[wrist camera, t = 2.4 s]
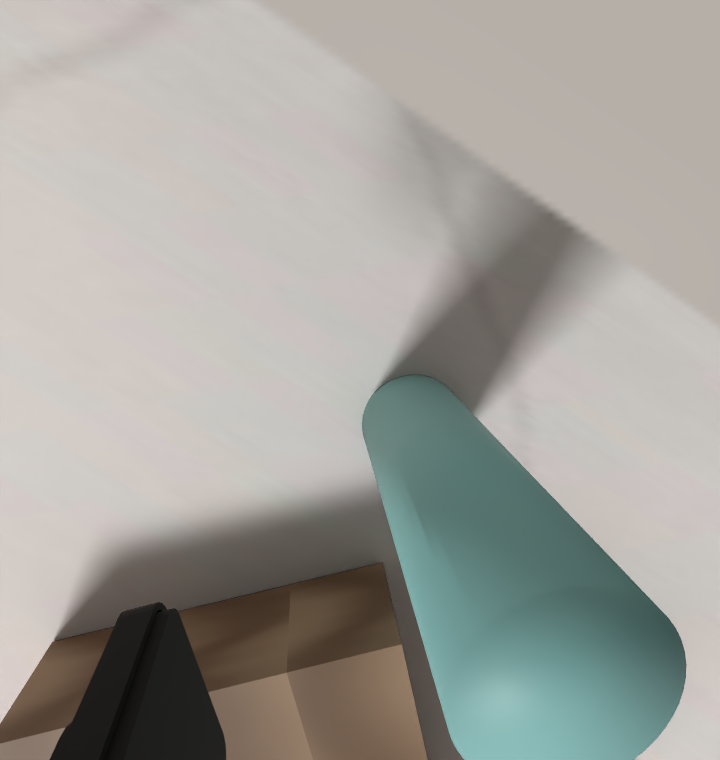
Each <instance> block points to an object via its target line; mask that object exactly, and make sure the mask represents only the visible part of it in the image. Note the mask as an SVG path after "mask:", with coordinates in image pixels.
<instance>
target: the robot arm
mask: <svg viewBox="0 0 720 760" xmlns="http://www.w3.org/2000/svg"><path fill="white" fill-rule="evenodd" d="M50 760H226V743H225V738H224V734H223V731H222V728H221V725H220V723H219V720H218V717H217V715H216V712H215V709H214V707H213V704H212V701H211V698H210V696H209V693H208V690H207V688H206V685H205V682H204V679H203V677H202V674H201V671H200V669H199V666H198V663H197V661H196V658H195V655H194V652H193V650H192V647H191V644H190V642H189V639H188V636H187V634H186V631H185V628H184V625H183V623H182V620H181V617H180V615H179V613H178V611H177V610H176V609H174V608H173V609H169V610H167V609H166V607H165V606H164V605H163V603H160V602H158V603H154V604H150V605H146V606H142V607H139V608H135V609H131V610H127V611H124V612H122V613H121V614H120V616H119V618H118V620H117V622H116V624H115V626H114V629H113V631H112V633H111V635H110V638H109V640H108V642H107V644H106V647H105V649H104V651H103V653H102V656H101V658H100V660H99V662H98V665H97V667H96V669H95V671H94V674H93V676H92V678H91V680H90V683H89V685H88V687H87V689H86V692H85V694H84V696H83V698H82V701H81V703H80V705H79V707H78V710H77V712H76V714H75V716H74V719H73V721H72V722H71V723H70V724H69V725H68V726H66V728H65V729H64V731H63V733H62V735H61V736H60V738H59V740H58V742H57V744H56V747H55V749H54V751H53V753H52V755H51V758H50Z"/></svg>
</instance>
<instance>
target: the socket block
mask: <svg viewBox="0 0 720 760" xmlns="http://www.w3.org/2000/svg"><path fill="white" fill-rule="evenodd" d="M178 613H179V615H180V617H181V620H182V623H183V625H184V628H185V631H186V634H187V636H188V639H189V642H190V644H191V647H192V650H193V652H194V655H195V658H196V661H197V663H198V666H199V669H200V671H201V674H202V677H203V679H204V682H205V685H206V688H207V690H208V693H209V696H210V698H211V701H212V704H213V707H214V709H215V712H216V715H217V717H218V720H219V723H220V725H221V728H222V731H223V734H224V738H225V743H226V760H428V759H427V755H426V750H425V746H424V741H423V737H422V733H421V728H420V724H419V719H418V715H417V710H416V706H415V701H414V697H413V692H412V688H411V683H410V679H409V674H408V670H407V665H406V661H405V656H404V652H403V647H402V643H401V639H400V634H399V630H398V626H397V622H396V617H395V613H394V609H393V605H392V600H391V596H390V592H389V588H388V583H387V579H386V575H385V571H384V566H383V563H378V564H374V565H370V566H366V567H362V568H358V569H353V570H349V571H345V572H341V573H337V574H333V575H328V576H324V577H320V578H316V579H312V580H308V581H304V582H299V583H295V584H291V585H287V586H283V587H279V588H274V589H270V590H266V591H262V592H258V593H254V594H249V595H245V596H241V597H237V598H233V599H229V600H224V601H220V602H216V603H212V604H208V605H204V606H200V607H195V608H191V609H187V610H183V611H179V612H178ZM113 629H114V627H112V628H108V629H104V630H100V631H96V632H91V633H87V634H83V635H79V636H75V637H71V638H66V639H62V640H58V641H54V642H52V644H51V645H50V647H49V648H48V650H47V651H46V653H45V655H44V656H43V658H42V659H41V661H40V662H39V664H38V666H37V667H36V669H35V670H34V672H33V673H32V675H31V677H30V678H29V680H28V681H27V683H26V684H25V686H24V688H23V689H22V691H21V692H20V694H19V695H18V697H17V699H16V700H15V702H14V703H13V705H12V706H11V708H10V710H9V711H8V713H7V714H6V716H5V717H4V719H3V721H2V722H1V724H0V760H50V758H51V755H52V753H53V751H54V749H55V747H56V744H57V742H58V740H59V738H60V736H61V735H62V733H63V731H64V729H65V728H66V726H68V725H69V724H70V723H71V722H72V721H73V719H74V716H75V714H76V712H77V710H78V707H79V705H80V703H81V701H82V698H83V696H84V694H85V692H86V689H87V687H88V685H89V683H90V680H91V678H92V676H93V674H94V671H95V669H96V667H97V665H98V662H99V660H100V658H101V656H102V653H103V651H104V649H105V647H106V644H107V642H108V640H109V638H110V635H111V633H112V631H113Z"/></svg>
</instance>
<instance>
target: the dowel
mask: <svg viewBox="0 0 720 760" xmlns="http://www.w3.org/2000/svg"><path fill="white" fill-rule="evenodd" d="M362 431H363V436H364V440H365V443H366V446H367V450H368V453H369V457H370V460H371V464H372V467H373V471H374V474H375V478H376V481H377V485H378V488H379V492H380V495H381V498H382V502H383V505H384V509H385V512H386V516H387V519H388V523H389V526H390V530H391V533H392V537H393V540H394V544H395V547H396V551H397V554H398V557H399V561H400V564H401V568H402V571H403V575H404V578H405V582H406V585H407V589H408V592H409V596H410V599H411V603H412V606H413V609H414V613H415V616H416V620H417V623H418V627H419V630H420V634H421V637H422V641H423V644H424V648H425V651H426V655H427V658H428V662H429V665H430V668H431V672H432V675H433V679H434V682H435V686H436V689H437V693H438V696H439V700H440V703H441V707H442V710H443V714H444V717H445V720H446V724H447V727H448V731H449V734H450V737H451V740H452V742H453V744H454V746H455V748H456V749H457V751H458V752H459V753H460V755H461V756H462V758H463V759H464V760H633V759H635V758H636V757H637V756H638V755H640V754H641V753H642V752H643V751H645V750H646V749H647V748H648V747H649V746H650V745H651V744H652V743H653V742H654V741H655V740H656V739H657V737H658V736H659V735H660V734H661V732H662V731H663V730H664V729H665V727H666V726H667V724H668V723H669V721H670V720H671V718H672V716H673V715H674V712H675V710H676V708H677V706H678V704H679V702H680V699H681V696H682V693H683V689H684V684H685V679H686V658H685V651H684V647H683V644H682V641H681V638H680V636H679V634H678V632H677V630H676V628H675V627H674V625H673V624H672V623H671V621H670V620H669V618H668V617H667V616H666V615H665V614H664V613H663V612H662V611H661V610H660V609H659V608H658V607H657V606H656V605H655V604H654V603H653V601H652V600H651V599H650V598H649V597H648V596H647V595H646V594H645V593H644V592H643V591H642V590H641V589H640V588H639V587H638V586H637V585H636V584H635V583H634V582H633V581H632V580H631V579H630V578H629V576H628V575H627V574H626V573H625V572H624V571H623V570H622V569H621V568H620V567H619V566H618V565H617V564H616V563H615V562H614V561H613V560H612V559H611V558H610V557H609V556H608V555H607V554H606V552H605V551H604V550H603V549H602V548H601V547H600V546H599V545H598V544H597V543H596V542H595V541H594V540H593V539H592V538H591V537H590V536H589V535H588V534H587V533H586V532H585V531H584V530H583V528H582V527H581V526H580V525H579V524H578V523H577V522H576V521H575V520H574V519H573V518H572V517H571V516H570V515H569V514H568V513H567V512H566V511H565V510H564V509H563V508H562V507H561V506H560V504H559V503H558V502H557V501H556V500H555V499H554V498H553V497H552V496H551V495H550V494H549V493H548V492H547V491H546V490H545V489H544V488H543V487H542V486H541V485H540V484H539V483H538V482H537V480H536V479H535V478H534V477H533V476H532V475H531V474H530V473H529V472H528V471H527V470H526V469H525V468H524V467H523V466H522V465H521V464H520V463H519V462H518V461H517V460H516V459H515V458H514V457H513V455H512V454H511V453H510V452H509V451H508V450H507V449H506V448H505V447H504V446H503V445H502V444H501V443H500V442H499V441H498V440H497V439H496V438H495V437H494V436H493V435H492V434H491V433H490V431H489V430H488V429H487V428H486V427H485V426H484V425H483V424H482V423H481V422H480V421H479V420H478V419H477V418H476V417H475V416H474V415H473V414H472V413H471V412H470V411H469V410H468V409H467V407H466V406H465V405H464V404H463V403H462V402H461V401H460V400H459V399H458V398H457V397H456V396H455V395H454V394H453V393H452V392H451V391H450V390H449V389H448V388H447V387H446V386H445V385H444V384H442V383H441V382H439V381H437V380H436V379H433V378H430V377H427V376H423V375H407V376H402V377H398V378H395V379H393V380H391V381H389V382H387V383H386V384H384V385H383V386H382V387H380V388H379V389H378V390H377V391H376V392H375V393H374V394H373V396H372V397H371V398H370V400H369V402H368V403H367V406H366V408H365V410H364V414H363V420H362Z"/></svg>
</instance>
